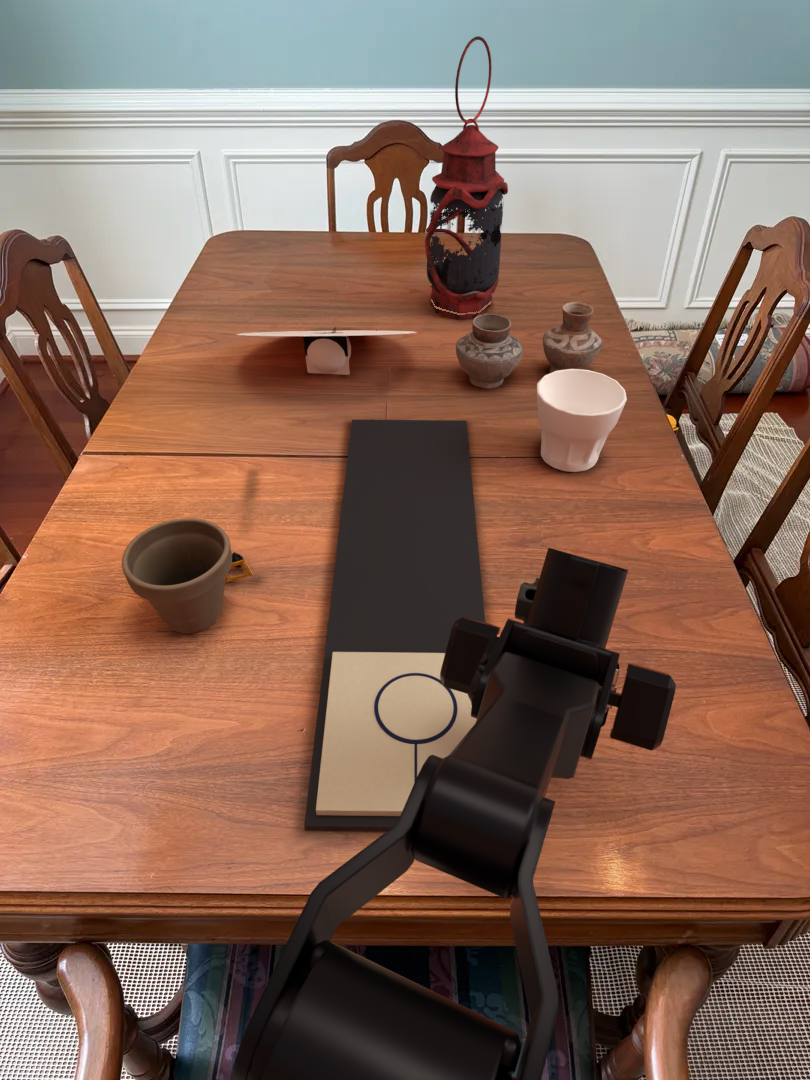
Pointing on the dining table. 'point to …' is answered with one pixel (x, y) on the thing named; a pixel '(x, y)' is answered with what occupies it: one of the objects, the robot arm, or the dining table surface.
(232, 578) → the golden diamond frame ornament
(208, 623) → the flower pot
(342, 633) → the long black board
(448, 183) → the lantern
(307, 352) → the cake stand
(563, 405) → the cup
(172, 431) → the dining table surface
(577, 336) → the pottery
